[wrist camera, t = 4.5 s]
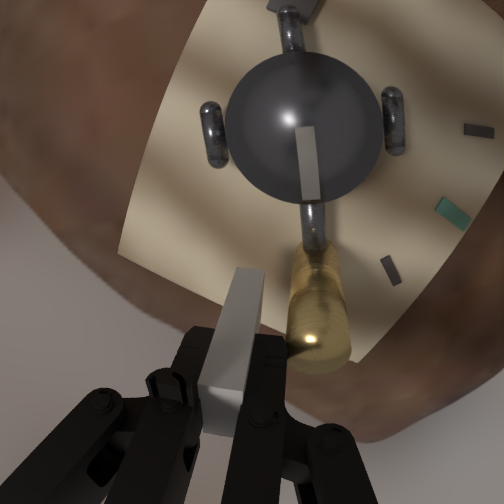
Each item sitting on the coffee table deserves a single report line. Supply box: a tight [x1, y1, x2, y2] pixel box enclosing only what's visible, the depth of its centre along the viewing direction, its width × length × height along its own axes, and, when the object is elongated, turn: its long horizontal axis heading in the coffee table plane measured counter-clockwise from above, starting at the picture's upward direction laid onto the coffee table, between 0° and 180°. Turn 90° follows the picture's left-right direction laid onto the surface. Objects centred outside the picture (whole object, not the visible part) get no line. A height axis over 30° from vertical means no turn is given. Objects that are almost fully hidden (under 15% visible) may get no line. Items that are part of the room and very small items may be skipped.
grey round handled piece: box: [199, 5, 406, 375], centre depth 11 cm, size 14×9×7 cm, turn 8°
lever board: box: [118, 0, 504, 363], centre depth 14 cm, size 24×18×4 cm
